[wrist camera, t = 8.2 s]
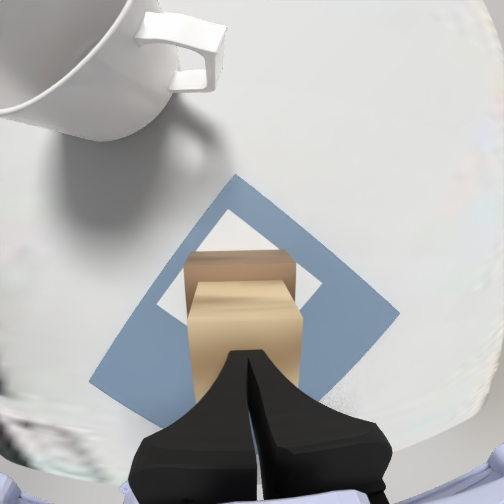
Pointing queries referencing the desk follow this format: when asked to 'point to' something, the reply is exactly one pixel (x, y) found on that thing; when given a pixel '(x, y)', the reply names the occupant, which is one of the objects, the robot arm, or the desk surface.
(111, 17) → the mug
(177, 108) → the desk surface
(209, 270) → the walnut base
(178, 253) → the mat
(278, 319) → the maple block
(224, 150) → the desk surface
